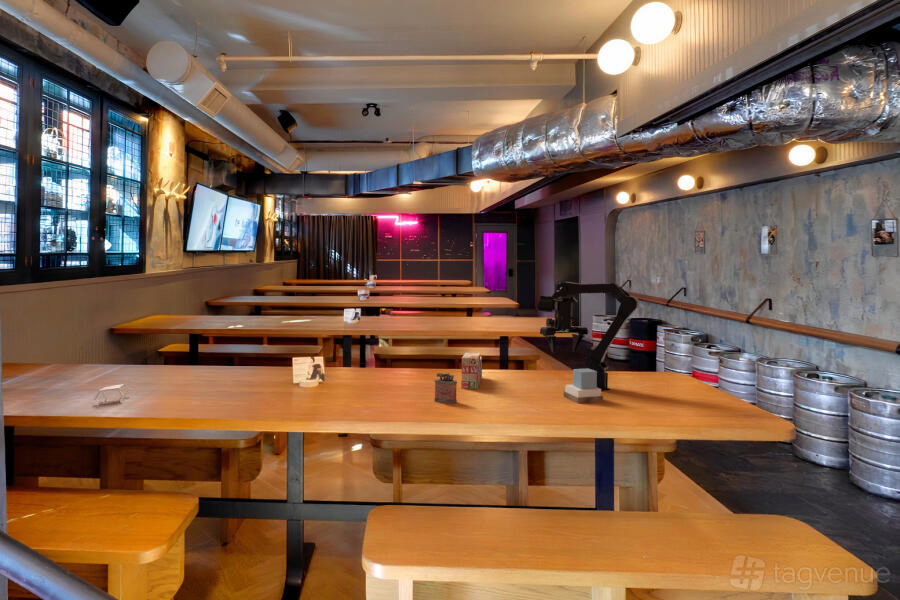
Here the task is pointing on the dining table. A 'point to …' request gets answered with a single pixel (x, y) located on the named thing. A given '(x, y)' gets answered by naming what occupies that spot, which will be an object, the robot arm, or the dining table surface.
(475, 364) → the printed cardboard box
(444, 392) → the lighter
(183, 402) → the dining table surface
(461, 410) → the dining table surface
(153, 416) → the dining table surface
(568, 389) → the tower top
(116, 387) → the origami figure
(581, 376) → the slate block
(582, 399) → the tower bottom
